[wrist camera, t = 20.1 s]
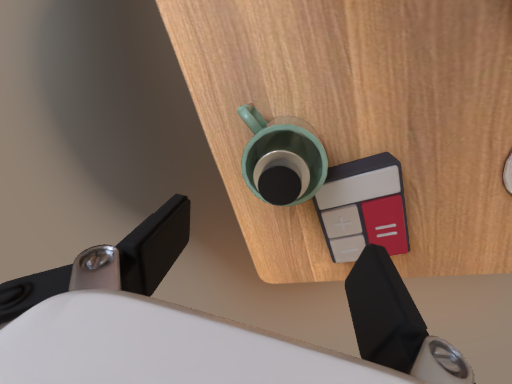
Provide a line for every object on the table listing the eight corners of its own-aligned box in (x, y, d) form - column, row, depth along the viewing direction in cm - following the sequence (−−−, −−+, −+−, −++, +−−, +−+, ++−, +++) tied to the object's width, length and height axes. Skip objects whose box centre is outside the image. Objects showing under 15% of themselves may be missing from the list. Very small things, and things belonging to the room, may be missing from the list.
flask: (259, 157, 31) (238, 193, 20) (280, 123, 28) (269, 144, 18) (291, 177, 31) (287, 222, 21) (315, 145, 29) (324, 179, 18)
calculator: (334, 267, 33) (308, 187, 27) (330, 248, 37) (306, 174, 31) (413, 256, 30) (403, 162, 24) (400, 236, 34) (389, 150, 28)
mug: (334, 156, 30) (345, 178, 22) (279, 191, 33) (274, 219, 26) (279, 77, 26) (272, 73, 19) (226, 125, 30) (204, 136, 23)
